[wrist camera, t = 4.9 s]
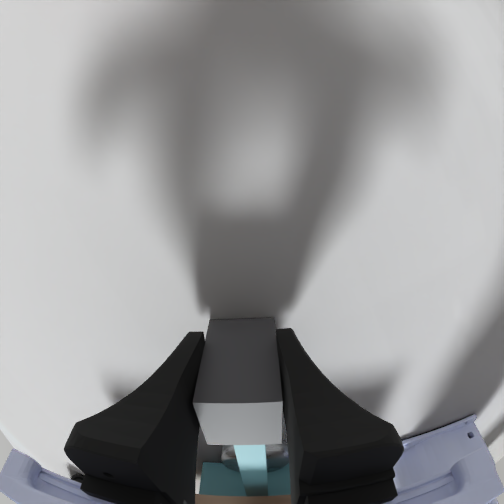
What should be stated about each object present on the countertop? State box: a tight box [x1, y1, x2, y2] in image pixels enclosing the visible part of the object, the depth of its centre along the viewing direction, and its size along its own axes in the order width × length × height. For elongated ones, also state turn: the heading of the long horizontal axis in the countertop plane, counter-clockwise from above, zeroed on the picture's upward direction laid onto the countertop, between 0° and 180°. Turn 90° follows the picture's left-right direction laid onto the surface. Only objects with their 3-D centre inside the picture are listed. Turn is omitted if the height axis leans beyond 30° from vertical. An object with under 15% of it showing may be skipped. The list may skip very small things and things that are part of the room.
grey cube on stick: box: [193, 317, 291, 496], centre depth 14 cm, size 9×16×5 cm, turn 3°
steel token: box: [221, 439, 289, 473], centre depth 18 cm, size 5×5×1 cm
